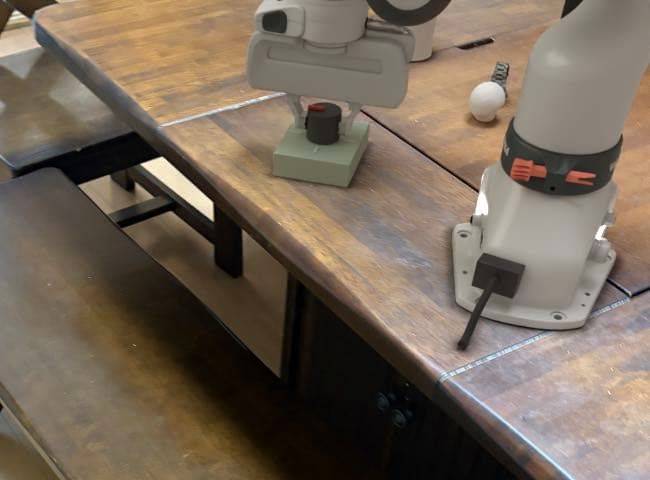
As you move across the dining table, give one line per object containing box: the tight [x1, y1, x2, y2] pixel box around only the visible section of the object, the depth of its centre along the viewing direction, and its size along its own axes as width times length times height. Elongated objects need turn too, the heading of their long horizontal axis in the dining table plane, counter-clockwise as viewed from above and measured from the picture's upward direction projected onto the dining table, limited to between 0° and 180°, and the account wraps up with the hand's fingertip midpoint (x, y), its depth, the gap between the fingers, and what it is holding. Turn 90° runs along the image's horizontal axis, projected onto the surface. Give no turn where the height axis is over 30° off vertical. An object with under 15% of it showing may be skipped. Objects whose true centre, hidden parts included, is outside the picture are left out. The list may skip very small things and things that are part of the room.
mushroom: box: [468, 81, 506, 123], centre depth 121 cm, size 5×5×5 cm
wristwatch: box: [489, 60, 511, 99], centre depth 126 cm, size 3×5×5 cm
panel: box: [272, 117, 371, 188], centre depth 115 cm, size 12×10×3 cm
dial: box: [306, 101, 343, 145], centre depth 112 cm, size 4×4×4 cm
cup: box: [403, 16, 438, 62], centre depth 132 cm, size 10×10×14 cm
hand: (322, 130), depth 113 cm, fingers closed on dial, 4 cm apart
